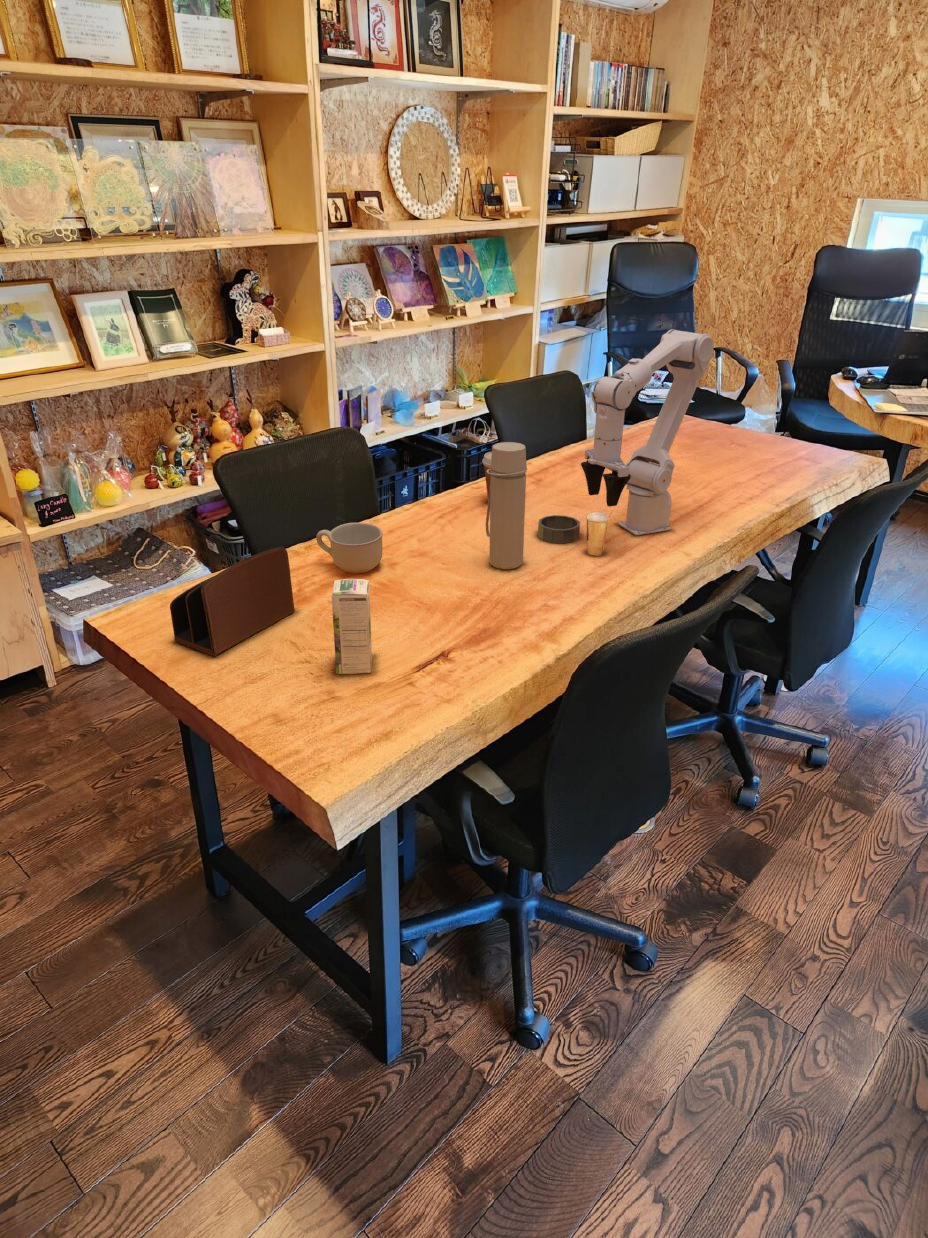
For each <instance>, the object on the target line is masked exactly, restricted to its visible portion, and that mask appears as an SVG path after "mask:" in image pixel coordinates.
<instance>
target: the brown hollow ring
mask: <svg viewBox="0 0 928 1238" xmlns="http://www.w3.org/2000/svg"><path fill="white" fill-rule="evenodd" d="M580 526H581V522H580V520H578V519H577V518H575V517H572V516H569V515H561V514H560V515H558V514H554V515H553V514H552V515H546V516H542V518H540V519H538V526H537V537H538V538H539V539H540V540H542V541H543V542H546V543H550V544H559V545H561V544H563V545H564V544H570V543H574V542H576V541H578V540H580V528H581V527H580Z"/></svg>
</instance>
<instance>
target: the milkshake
mask: <svg viewBox="0 0 928 1238" xmlns="http://www.w3.org/2000/svg"><path fill="white" fill-rule="evenodd" d="M613 512H614V510H612V511H611V512H610V514H609V516H608V514H606V513H604V512H602V511H591V512H590V513H588V514H587V516H586V552H587V554H588V555H590V556H593V557H598V556H601V555H603V553H604V547H605V543H606V542H605V541H606V535H607V529H608V524H609V518H611V515H612V514H613Z"/></svg>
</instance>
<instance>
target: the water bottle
mask: <svg viewBox="0 0 928 1238" xmlns="http://www.w3.org/2000/svg"><path fill="white" fill-rule="evenodd" d="M491 449H492V450H491V452H492V457H491V466H490V467H489V468H490V469H488V470H487V471H486V472H487V473H488V474H490V475H491V480H490V489H489V498H488V497H487V508H486V518H485V534H486V537H488V538H489V550H488V551H489V556H488V557H489V558H488V559H489V564H490V565H491V566H493V567H494V568H496V569H500V570H514V569H517V568H519V567H520V566H521V565H523V563H524V546H525V520H526V519H525V518H526V517H525V515H526V491H527V489H526V488H527V474H526V473H527V471H528V465H527V449H526V445H525V444H522V443H520V442H514V441H502V442H497V443H495V444H493V445H492V448H491ZM488 471H490V473H489V472H488Z"/></svg>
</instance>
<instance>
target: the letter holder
mask: <svg viewBox="0 0 928 1238" xmlns="http://www.w3.org/2000/svg"><path fill="white" fill-rule="evenodd" d="M291 575H292V574H291V567H290V559H289V552H288V550H287V549H286V548H285V547H284V546H277V547H275V548H270V549H267V550H264V551H262V552H259V553H256V554H254V555H251V556H248V557H246V558H244V559H242V560H239V561H237V562H236V563H233V564H232V565H230V566H228V567H227V568H225V569H223V570H221V571H220V572H218V573H216V574H215V575H213V576H211V577H208V578H206V579H205V580H202V581H200V582H198V583H197V584H195V585H194V586H192V587H190V588H188V589H186V590H185V591H183V592H182V593H180V594H179V595H177V596H176V597H175V598H173V599H172V600H171V602H170V604H169V611H170V619H171V623H172V630H173V637H174V638H173V639H174V641H175V642H176V643H178V644H181V645H183V646H187V647H189V648H191V649H194V650H196V651H200V652H202V653H205V654H208V655H210V656H212V657H217V656H218V655H219V654H221V653H223V652H226V651H227V650H228V649H230V648H232V647H234V646H236V645H237V644H240V643H241V642H243V641H244V640H246V639H248V638H250V637H251V636H254V635H256V634H258V633H259V632H261V631H263V630H264V629H266V628H268V627H270V626H272V625H273V624H275V623H277V622H279V621H281V620H283V619H284V618H286V617H287V616H290V615H291V614H293V613H295V609H296V608H295V602H294V594H293V585H292V576H291Z"/></svg>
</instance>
